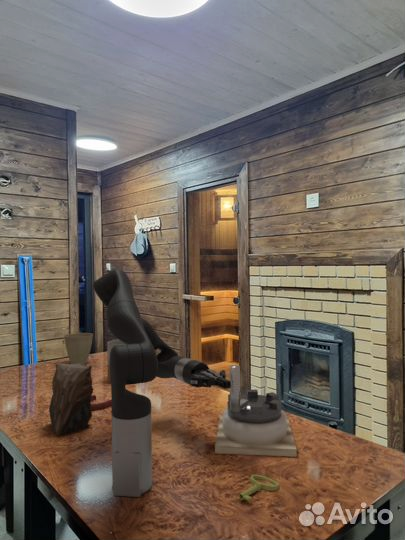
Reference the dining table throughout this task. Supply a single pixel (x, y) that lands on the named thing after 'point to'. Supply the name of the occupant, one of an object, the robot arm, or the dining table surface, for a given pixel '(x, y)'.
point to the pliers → (99, 404)
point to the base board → (276, 449)
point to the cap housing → (255, 430)
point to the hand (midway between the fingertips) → (228, 384)
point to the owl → (71, 398)
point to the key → (258, 486)
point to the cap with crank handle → (251, 403)
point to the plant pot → (78, 347)
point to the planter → (109, 347)
